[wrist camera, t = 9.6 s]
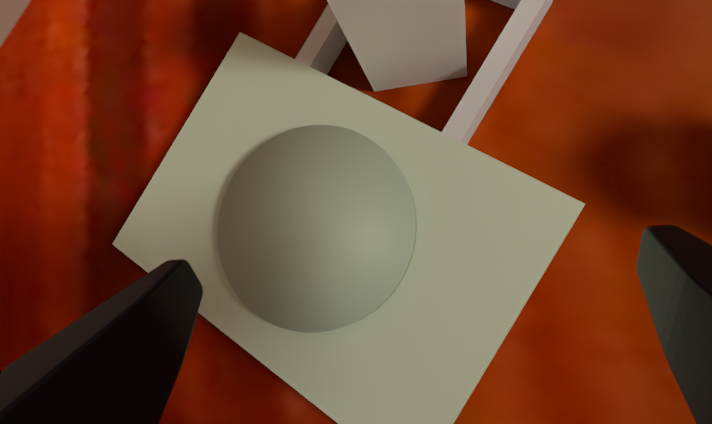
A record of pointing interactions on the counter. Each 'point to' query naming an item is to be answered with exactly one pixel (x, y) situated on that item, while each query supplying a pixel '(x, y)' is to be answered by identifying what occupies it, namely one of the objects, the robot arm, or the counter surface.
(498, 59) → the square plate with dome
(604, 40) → the counter surface
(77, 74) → the counter surface
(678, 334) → the robot arm
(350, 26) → the grey tall block
